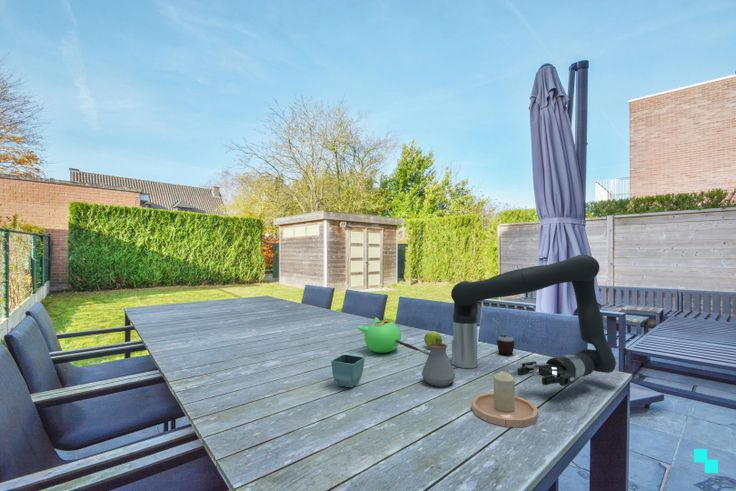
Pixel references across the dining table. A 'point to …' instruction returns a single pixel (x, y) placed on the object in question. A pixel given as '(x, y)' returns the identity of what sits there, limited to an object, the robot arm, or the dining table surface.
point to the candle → (504, 392)
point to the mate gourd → (505, 344)
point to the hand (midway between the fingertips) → (530, 376)
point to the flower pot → (347, 369)
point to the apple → (432, 338)
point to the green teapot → (381, 336)
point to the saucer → (518, 418)
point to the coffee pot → (435, 364)
